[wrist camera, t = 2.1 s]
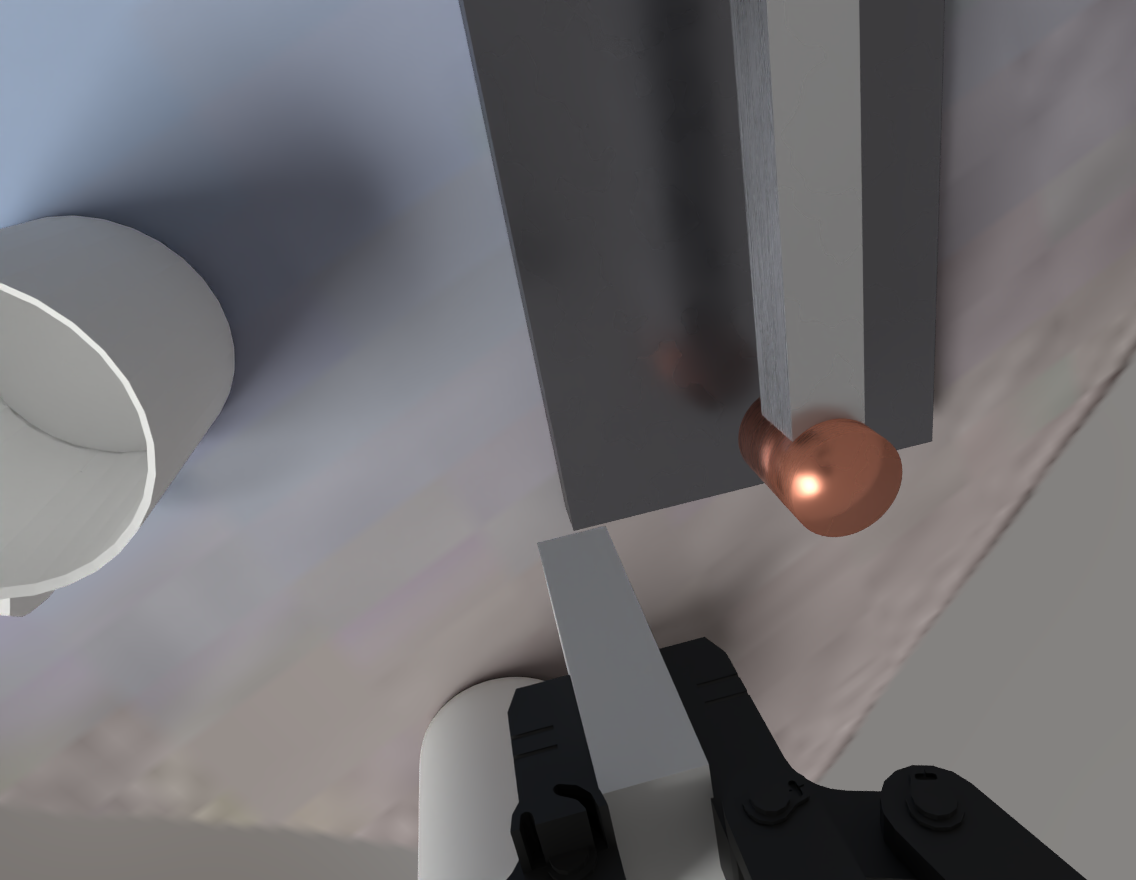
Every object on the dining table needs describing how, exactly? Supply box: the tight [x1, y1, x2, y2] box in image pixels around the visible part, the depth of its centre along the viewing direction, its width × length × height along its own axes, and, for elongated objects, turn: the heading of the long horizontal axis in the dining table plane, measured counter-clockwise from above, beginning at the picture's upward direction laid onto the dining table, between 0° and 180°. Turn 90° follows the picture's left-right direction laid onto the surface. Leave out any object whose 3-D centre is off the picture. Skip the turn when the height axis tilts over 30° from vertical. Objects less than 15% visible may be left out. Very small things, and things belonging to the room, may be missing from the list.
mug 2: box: [418, 677, 544, 880], centre depth 32 cm, size 9×12×11 cm
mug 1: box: [0, 215, 235, 617], centre depth 23 cm, size 12×9×9 cm
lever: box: [730, 0, 902, 537], centre depth 20 cm, size 28×6×4 cm, turn 10°
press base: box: [459, 0, 945, 531], centre depth 24 cm, size 30×16×6 cm, turn 10°
